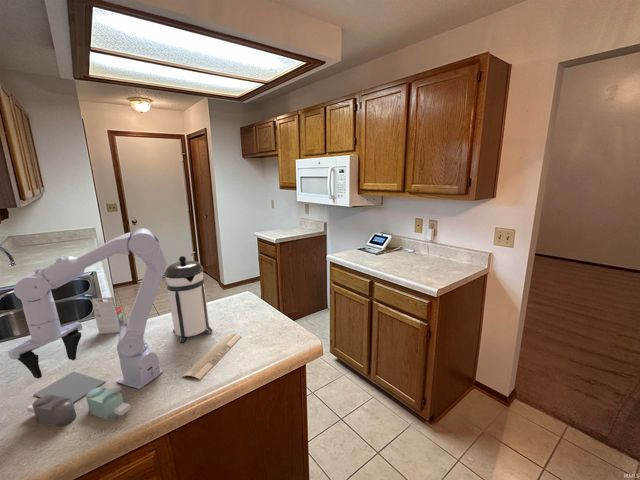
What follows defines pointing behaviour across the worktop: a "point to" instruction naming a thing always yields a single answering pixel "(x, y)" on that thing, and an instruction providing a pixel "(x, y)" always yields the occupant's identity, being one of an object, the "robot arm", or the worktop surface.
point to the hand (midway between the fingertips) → (55, 367)
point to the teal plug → (106, 403)
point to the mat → (71, 386)
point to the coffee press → (187, 298)
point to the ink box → (107, 315)
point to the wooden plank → (212, 356)
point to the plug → (53, 410)
